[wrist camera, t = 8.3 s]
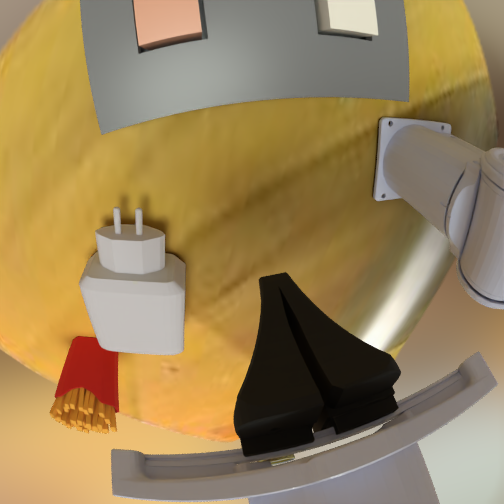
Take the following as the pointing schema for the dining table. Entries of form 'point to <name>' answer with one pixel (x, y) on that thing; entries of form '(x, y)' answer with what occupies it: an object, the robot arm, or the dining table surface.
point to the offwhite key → (346, 18)
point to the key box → (237, 59)
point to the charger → (135, 290)
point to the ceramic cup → (280, 459)
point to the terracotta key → (167, 22)
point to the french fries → (88, 388)
